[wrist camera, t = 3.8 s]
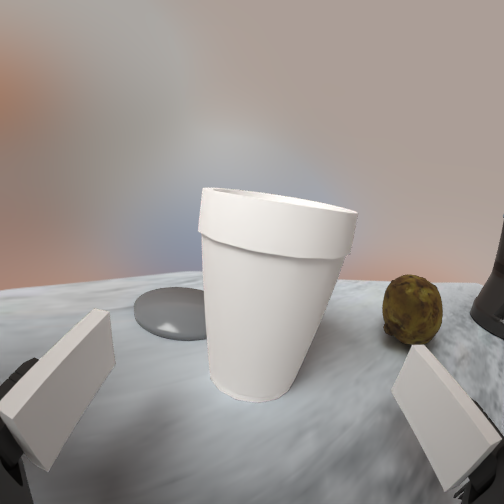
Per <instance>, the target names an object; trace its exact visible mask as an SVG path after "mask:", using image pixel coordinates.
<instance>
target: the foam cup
mask: <svg viewBox="0 0 504 504" xmlns="http://www.w3.org/2000/svg"><path fill="white" fill-rule="evenodd" d="M357 217H358V213H357V212H355V211H353V210H349V209H345V208H342V207H338V206H333V205H329V204H324V203H320V202H315V201H309V200H304V199H299V198H293V197H286V196H280V195H274V194H267V193H260V192H252V191H243V190H234V189H222V188H203V191H202V199H201V208H200V217H199V228H198V232H200V233H202V263H203V286H204V304H205V320H206V334H207V347H208V359H209V370H210V379H211V380H212V381H213V383H214V384H215V385H216V386H217V388H218V389H219V390H220V391H221V392H223V393H225V394H227V395H229V396H231V397H233V398H235V399H237V400H242V401H249V402H256V403H260V402H265V401H270V400H275V399H278V398H279V397H281V396H282V395H283V394H285V393H286V392H287V391H289V388H290V386H291V385H292V383H293V381H294V379H295V377H296V375H297V373H298V371H299V369H300V367H301V365H302V363H303V360H304V358H305V356H306V354H307V352H308V349H309V347H310V345H311V343H312V340H313V338H314V336H315V334H316V331H317V329H318V327H319V324H320V322H321V320H322V317H323V315H324V312H325V310H326V307H327V305H328V302H329V300H330V297H331V295H332V292H333V290H334V287H335V284H336V282H337V279H338V277H339V274H340V271H341V268H342V266H343V263H344V260H345V257H346V256H347V255H350V252H351V248H352V243H353V238H354V233H355V228H356V222H357Z"/></svg>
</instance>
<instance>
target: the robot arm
mask: <svg viewBox="0 0 504 504" xmlns="http://www.w3.org/2000/svg"><path fill="white" fill-rule="evenodd" d="M503 218H504V215H503ZM470 313H471V316H472V317H473V319H474V320H475V321H476V322H477V323H478V324H480V325H481V326H482V327H483V328H485V329H486V330H488V331H490V332H491V333H493V334H495V335H497V336H499V337H501V338H503V339H504V222H503V228H502V233H501V238H500V242H499V247H498V251H497V255H496V259H495V263H494V267H493V270H492V273H491V275H490V277H489V278H488V280H487V282H486V283H485V285H484V287H483V288H482V290H481V292H480V293H479V295H478V297H476V299H475V300H474V303H473V306H472V308H471V311H470ZM115 364H116V362H115V355H114V348H113V340H112V331H111V322H110V312H108V311H104V310H100V309H96V308H94V309H93V310H92V311H91V312H89V313H88V314H87V315H86V316H85V317H84V318H83V319H82V320H81V321H80V322H78V323H77V324H76V325H75V326H74V327H73V328H72V329H71V330H70V331H69V332H68V333H67V334H66V335H65V336H63V337H62V338H61V339H60V340H59V341H58V342H57V343H56V344H55V345H54V346H53V347H52V348H51V349H50V350H49V351H48V352H47V353H46V354H45V355H44V356H43V357H42V358H41V359H40V360H39V359H36V358H33V359H31V360H29V361H26V362H24V363H23V364H22V365H21V366H20V367H19V368H18V369H17V370H16V371H15V373H13V374H12V375H11V376H10V377H9V379H7V380H6V381H5V382H4V383H3V384H2V385H1V386H0V504H34V503H33V500H32V497H31V493H30V489H29V486H28V482H27V478H26V474H25V469H24V464H23V462H22V459H21V456H22V455H23V453H24V454H25V455H26V456H27V458H28V459H29V460H30V462H32V463H33V464H35V465H36V466H38V467H40V468H41V469H43V470H45V471H47V472H49V470H50V469H51V467H52V465H53V463H54V462H55V460H56V458H57V456H58V455H59V453H60V451H61V449H62V448H63V446H64V444H65V443H66V441H67V439H68V438H69V436H70V434H71V433H72V431H73V430H74V428H75V426H76V425H77V423H78V421H79V420H80V418H81V417H82V415H83V413H84V412H85V410H86V409H87V407H88V406H89V404H90V402H91V401H92V399H93V398H94V396H95V395H96V393H97V392H98V390H99V389H100V387H101V385H102V384H103V382H104V381H105V379H106V378H107V376H108V375H109V373H110V372H111V370H112V369H113V367H114V366H115ZM391 392H392V394H393V396H394V398H395V399H396V401H397V403H398V405H399V406H400V408H401V410H402V412H403V413H404V415H405V417H406V419H407V421H408V422H409V424H410V426H411V428H412V430H413V432H414V433H415V435H416V437H417V439H418V441H419V443H420V444H421V446H422V448H423V450H424V452H425V454H426V456H427V458H428V460H429V462H430V464H431V466H432V468H433V469H434V471H435V473H436V475H437V477H438V479H439V482H440V484H441V486H442V488H443V490H444V492H446V491H448V490H450V489H453V488H455V487H457V486H459V485H460V484H461V483H462V482H463V481H464V480H465V479H466V478H467V477H468V478H469V479H470V481H469V482H468V483H467V484H465V485H464V486H463V487H462V488H461V489H460V490H459V491H458V492H457V493H455V495H454V497H453V498H456V497H457V496H458V495H460V494H461V493H462V492H463V491H464V493H463V494H462V495H461V496H460V497H459V498H458V499H461V500H462V502H461V504H504V436H503V435H502V434H501V432H500V431H499V430H498V428H497V427H496V426H495V424H494V423H493V422H492V421H491V419H490V418H488V415H487V414H486V413H485V412H483V409H482V408H481V407H480V406H479V404H478V403H477V402H476V401H474V400H473V399H471V398H470V397H469V396H468V395H467V393H466V392H465V391H464V390H463V389H462V387H461V386H460V385H459V384H458V383H457V381H456V380H455V379H454V378H453V377H452V376H451V374H450V373H449V372H448V371H447V370H446V369H445V368H444V366H443V365H442V364H441V363H440V362H439V361H438V360H437V359H436V357H435V356H434V355H433V354H432V353H431V352H430V351H429V350H428V349H427V347H426V346H425V345H412V346H411V348H410V351H409V353H408V355H407V357H406V360H405V362H404V364H403V366H402V368H401V371H400V373H399V375H398V377H397V379H396V381H395V383H394V385H393V387H392V389H391Z"/></svg>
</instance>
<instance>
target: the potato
mask: <svg viewBox="0 0 504 504" xmlns="http://www.w3.org/2000/svg"><path fill="white" fill-rule="evenodd" d="M382 309H383V318H384V321H385V324H384V327H383V328H384V331H385V333H387V334H389V335H394V336H395V337H396V338H397V339H398V340H399V341H400V342H402V343H404V344H412V345H423V344H426V343H427V342H429V341H430V340H431V339H432V338H433V337H434V336H435V334H436V333H437V332H438V330H439V329H440V326H441V323H442V316H443V309H442V301H441V296H440V294H439V291H438V289H437V287H436V286H435V285H433V284H432V283H430V282H429V281H427V280H426V279H425V278H423V277H419V276H416V275H403V276H401V277H399V278H397V279H395V280H392V281H391V283H390V284H389V286H388V287H387V289H386V292H385V295H384V300H383V307H382Z"/></svg>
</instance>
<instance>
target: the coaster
mask: <svg viewBox="0 0 504 504" xmlns="http://www.w3.org/2000/svg"><path fill="white" fill-rule="evenodd" d="M134 315H135V319H136V321H137V322H138V324H139V325H140V326H141V327H143V328H144V329H145V330H147V331H149V332H150V333H153V334H155V335H157V336H160V337H164V338H168V339H174V340H184V341H192V340H201V339H207V334H206V320H205V304H204V291H202V290H198V289H192V288H182V287H169V288H160V289H155V290H152V291H149V292H146V293H144V294H143V295H141V296H140V297H139V298H137V300H136V301H135V304H134Z"/></svg>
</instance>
